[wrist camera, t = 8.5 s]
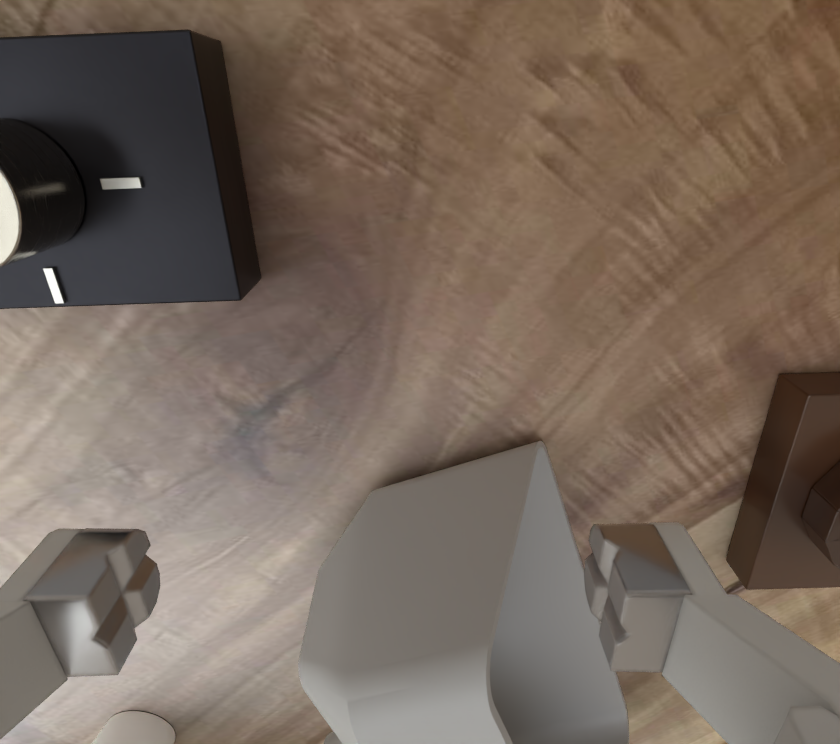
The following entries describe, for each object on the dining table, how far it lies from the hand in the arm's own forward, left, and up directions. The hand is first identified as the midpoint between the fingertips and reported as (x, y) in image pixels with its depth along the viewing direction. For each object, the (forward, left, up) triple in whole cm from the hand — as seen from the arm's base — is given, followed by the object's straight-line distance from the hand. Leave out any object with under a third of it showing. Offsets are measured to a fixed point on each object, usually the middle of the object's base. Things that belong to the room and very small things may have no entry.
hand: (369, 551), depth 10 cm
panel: (-5, -13, -16) cm, 21 cm away
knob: (-5, -13, -13) cm, 19 cm away
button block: (+11, +23, -16) cm, 30 cm away
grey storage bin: (+22, +3, -16) cm, 27 cm away
